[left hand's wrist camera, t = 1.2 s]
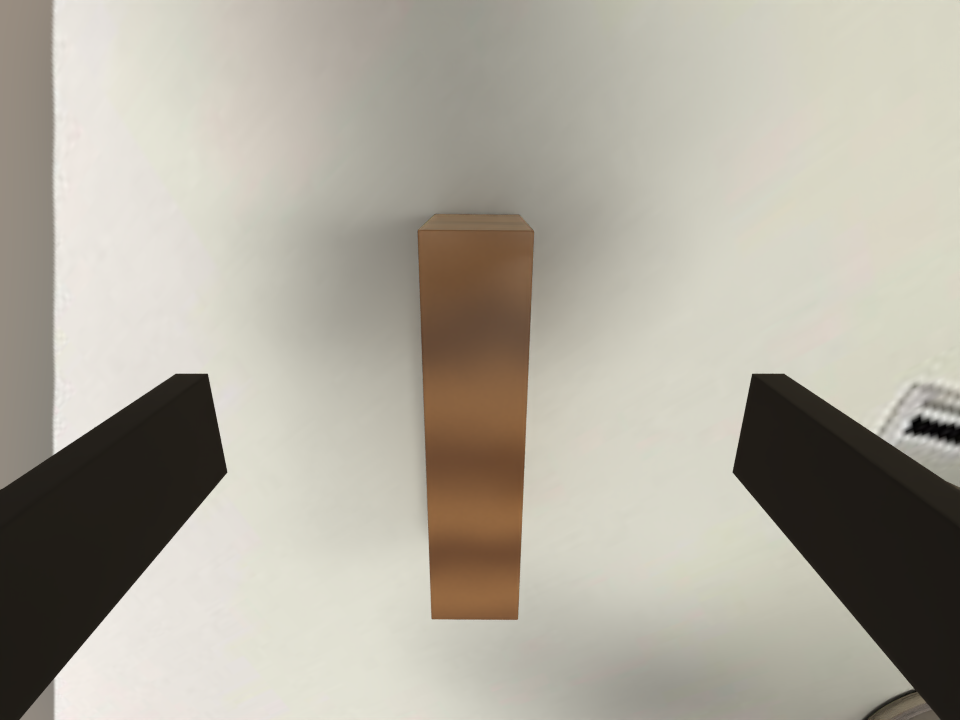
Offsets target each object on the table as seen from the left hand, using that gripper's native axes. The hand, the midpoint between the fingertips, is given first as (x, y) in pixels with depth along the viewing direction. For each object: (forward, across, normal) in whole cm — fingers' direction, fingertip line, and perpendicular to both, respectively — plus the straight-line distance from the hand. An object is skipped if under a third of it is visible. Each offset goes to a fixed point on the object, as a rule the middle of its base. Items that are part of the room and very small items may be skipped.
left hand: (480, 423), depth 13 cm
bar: (+21, 0, -8) cm, 22 cm away
